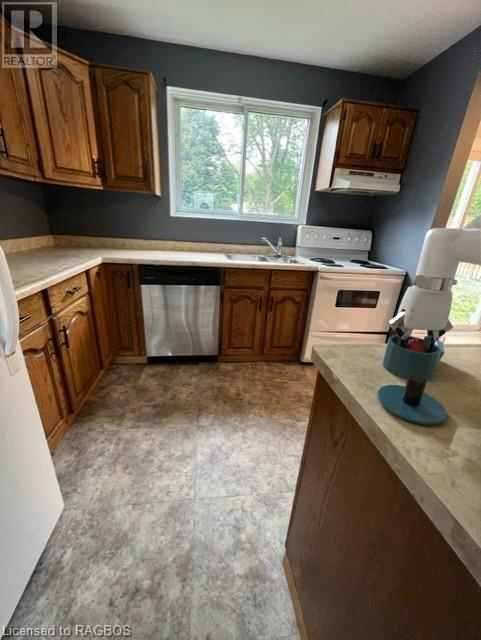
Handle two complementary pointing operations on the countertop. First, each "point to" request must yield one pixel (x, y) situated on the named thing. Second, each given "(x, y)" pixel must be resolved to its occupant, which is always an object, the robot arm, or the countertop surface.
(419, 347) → the onion
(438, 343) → the yogurt
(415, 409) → the lid
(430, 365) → the pot
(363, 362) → the countertop surface
